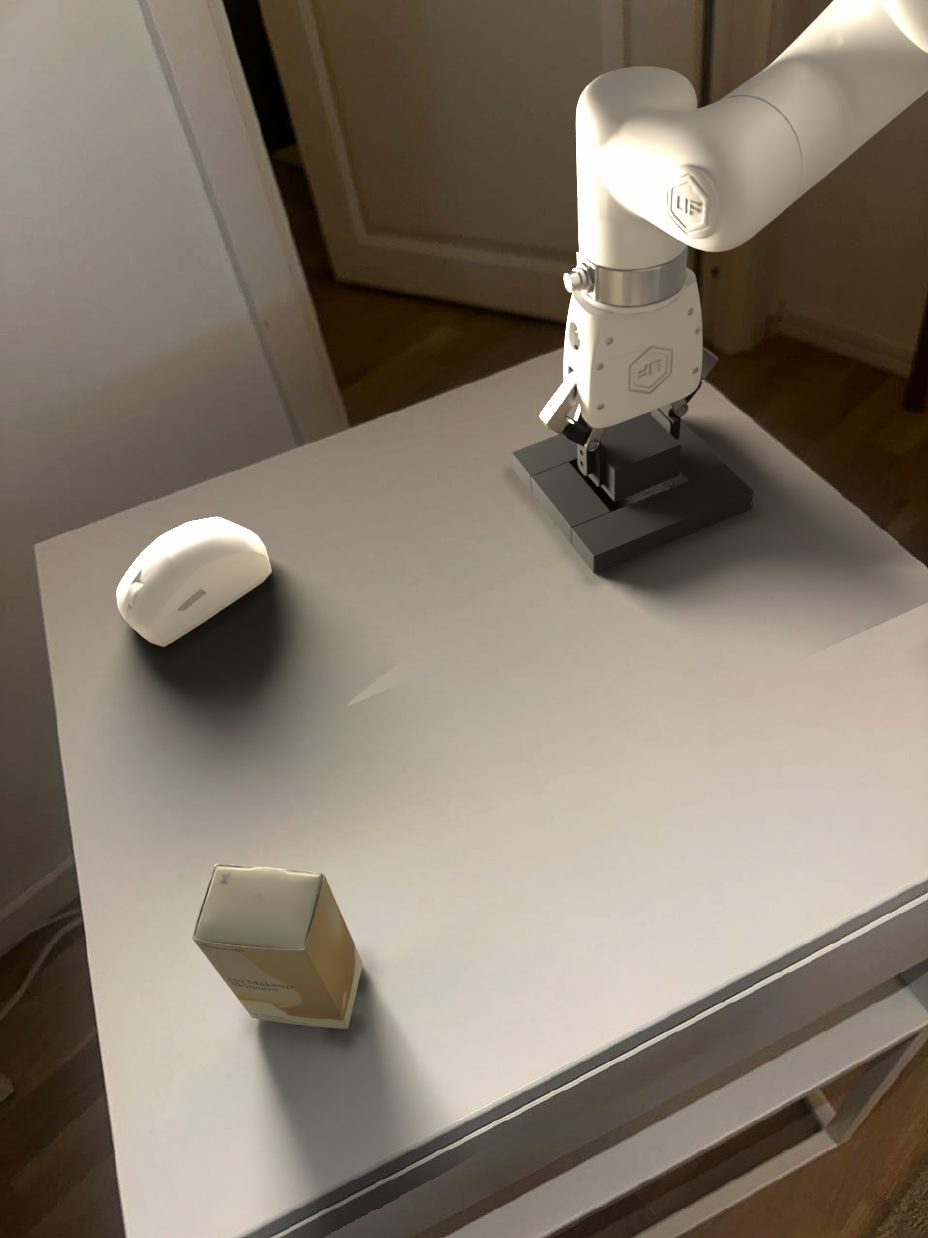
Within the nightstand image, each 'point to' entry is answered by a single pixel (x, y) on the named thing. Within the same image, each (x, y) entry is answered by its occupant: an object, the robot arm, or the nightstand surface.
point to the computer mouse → (190, 577)
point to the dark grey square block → (638, 456)
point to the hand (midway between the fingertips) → (628, 460)
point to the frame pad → (640, 526)
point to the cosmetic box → (280, 944)
